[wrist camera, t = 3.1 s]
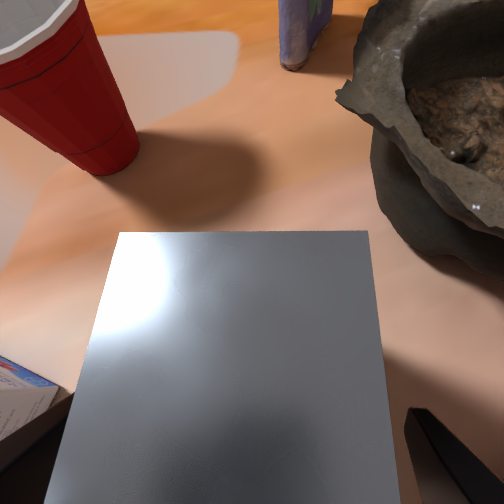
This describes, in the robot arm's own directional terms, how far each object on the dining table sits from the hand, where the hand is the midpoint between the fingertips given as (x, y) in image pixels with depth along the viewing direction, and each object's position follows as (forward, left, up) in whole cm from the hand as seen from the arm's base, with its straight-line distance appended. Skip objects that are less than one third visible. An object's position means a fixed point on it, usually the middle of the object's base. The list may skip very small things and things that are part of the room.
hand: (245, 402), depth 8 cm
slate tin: (+1, 0, -9) cm, 9 cm away
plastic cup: (+9, +22, -9) cm, 26 cm away
